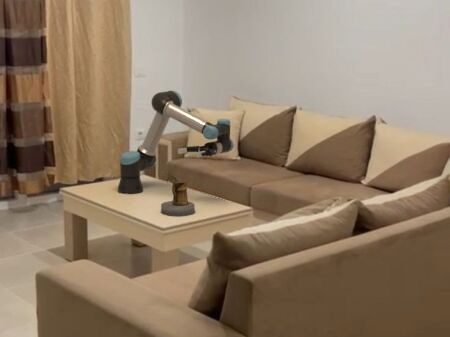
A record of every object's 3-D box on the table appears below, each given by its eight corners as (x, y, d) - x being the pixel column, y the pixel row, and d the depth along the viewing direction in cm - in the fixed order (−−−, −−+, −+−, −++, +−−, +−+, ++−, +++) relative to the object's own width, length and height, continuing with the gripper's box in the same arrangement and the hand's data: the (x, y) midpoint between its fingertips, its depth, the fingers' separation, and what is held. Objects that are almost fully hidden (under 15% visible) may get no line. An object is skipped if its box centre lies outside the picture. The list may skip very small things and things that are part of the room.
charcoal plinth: (160, 207, 411) (160, 200, 411) (193, 207, 413) (193, 200, 413) (161, 216, 394) (161, 209, 393) (195, 216, 396) (195, 208, 395)
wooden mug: (162, 205, 401) (162, 172, 397) (179, 201, 411) (179, 169, 407) (174, 208, 395) (174, 175, 392) (191, 203, 405) (192, 171, 402)
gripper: (229, 157, 416) (205, 163, 399) (195, 151, 431) (170, 156, 415) (229, 144, 414) (205, 149, 398) (196, 139, 429) (170, 143, 413)
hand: (187, 153), depth 406 cm, fingers open, 13 cm apart
